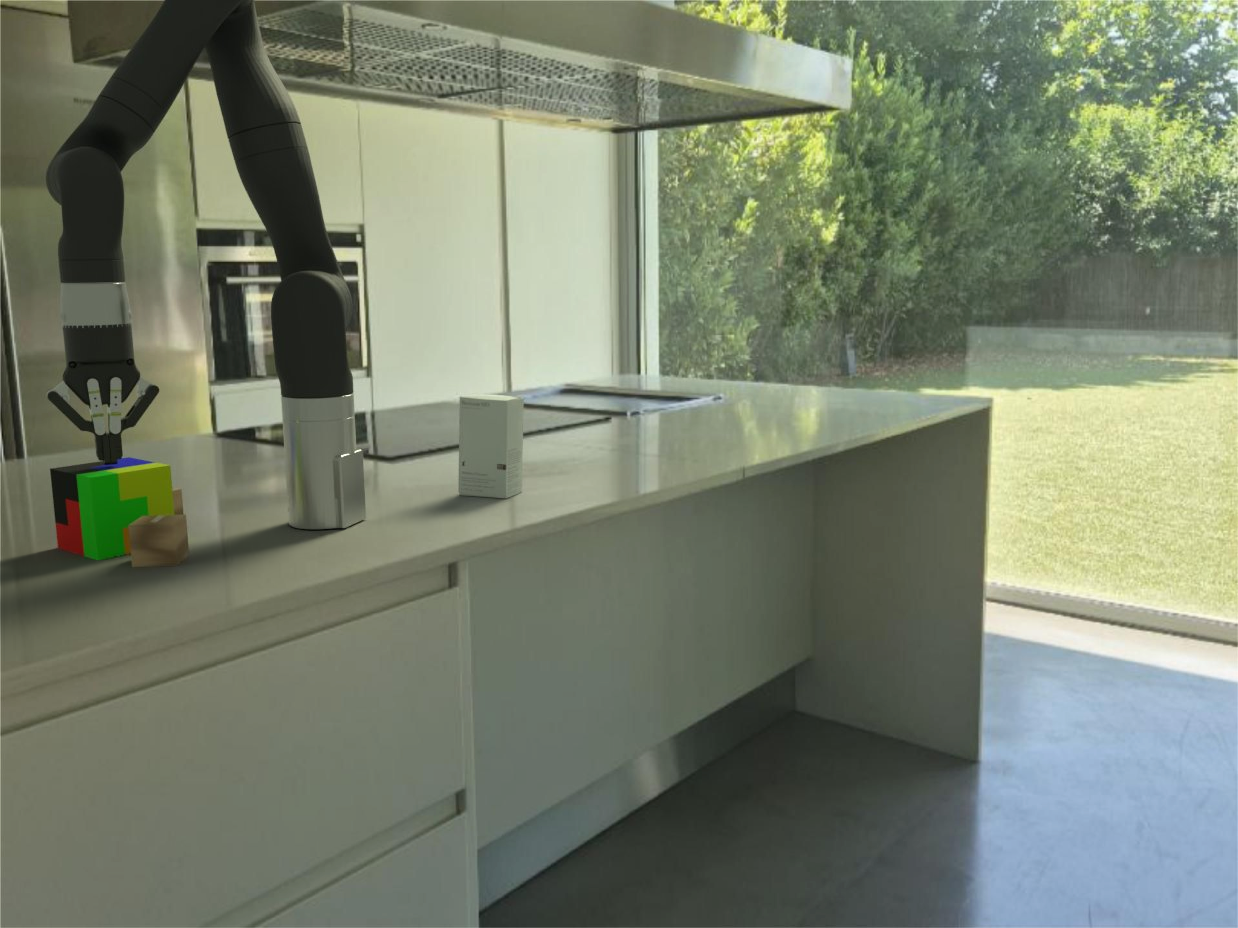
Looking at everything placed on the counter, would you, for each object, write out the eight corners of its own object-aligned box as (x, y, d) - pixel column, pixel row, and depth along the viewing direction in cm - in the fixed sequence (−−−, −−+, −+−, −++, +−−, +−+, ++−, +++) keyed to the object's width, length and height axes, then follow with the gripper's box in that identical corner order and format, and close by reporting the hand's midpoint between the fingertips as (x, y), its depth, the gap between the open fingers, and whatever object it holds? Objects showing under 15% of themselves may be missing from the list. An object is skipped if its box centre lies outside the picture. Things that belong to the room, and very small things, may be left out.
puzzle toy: (135, 533, 146) (128, 457, 145) (176, 544, 140) (170, 465, 138) (57, 548, 139) (49, 468, 137) (98, 561, 132) (90, 477, 131)
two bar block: (184, 525, 150) (181, 487, 149) (152, 533, 146) (149, 494, 145) (159, 521, 153) (156, 484, 152) (127, 529, 149) (124, 491, 148)
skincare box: (458, 496, 167) (454, 396, 165) (477, 488, 173) (474, 392, 170) (508, 499, 165) (506, 398, 162) (526, 491, 170) (524, 394, 167)
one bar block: (189, 555, 135) (185, 513, 134) (176, 566, 130) (173, 522, 129) (146, 556, 134) (142, 514, 133) (132, 567, 129) (128, 524, 129)
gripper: (151, 318, 141) (162, 454, 144) (33, 322, 134) (47, 464, 137) (160, 320, 135) (172, 463, 138) (37, 324, 128) (52, 474, 131)
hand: (110, 463), depth 138 cm, fingers closed
